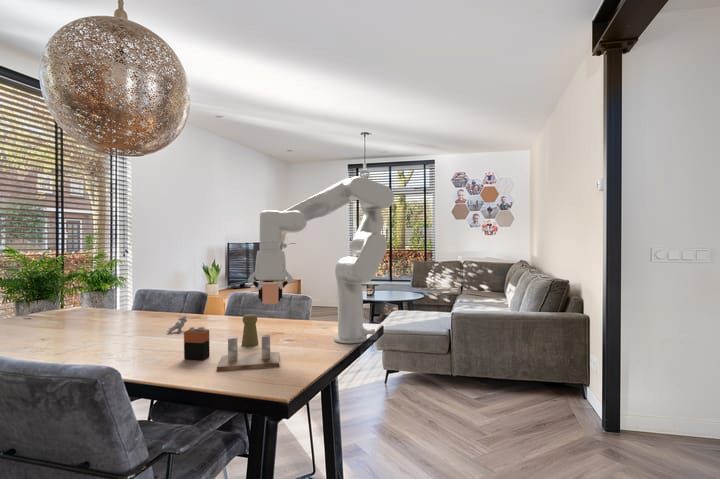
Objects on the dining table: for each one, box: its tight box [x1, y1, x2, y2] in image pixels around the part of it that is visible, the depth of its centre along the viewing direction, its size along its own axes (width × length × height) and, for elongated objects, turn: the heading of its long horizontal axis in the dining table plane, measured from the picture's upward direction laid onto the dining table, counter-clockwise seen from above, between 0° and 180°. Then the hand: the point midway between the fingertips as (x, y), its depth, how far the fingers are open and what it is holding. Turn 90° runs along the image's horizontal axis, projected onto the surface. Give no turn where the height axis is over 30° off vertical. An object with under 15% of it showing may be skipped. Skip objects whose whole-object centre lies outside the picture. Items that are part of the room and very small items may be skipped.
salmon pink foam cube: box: [261, 282, 279, 305], centre depth 140 cm, size 5×5×7 cm
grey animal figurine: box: [167, 316, 188, 334], centre depth 172 cm, size 10×6×9 cm
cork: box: [241, 313, 259, 348], centre depth 151 cm, size 6×6×11 cm
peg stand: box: [216, 334, 280, 372], centre depth 128 cm, size 18×12×8 cm, turn 102°
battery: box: [183, 326, 211, 361], centre depth 134 cm, size 4×7×10 cm, turn 79°
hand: (270, 300), depth 139 cm, fingers closed on salmon pink foam cube, 5 cm apart
